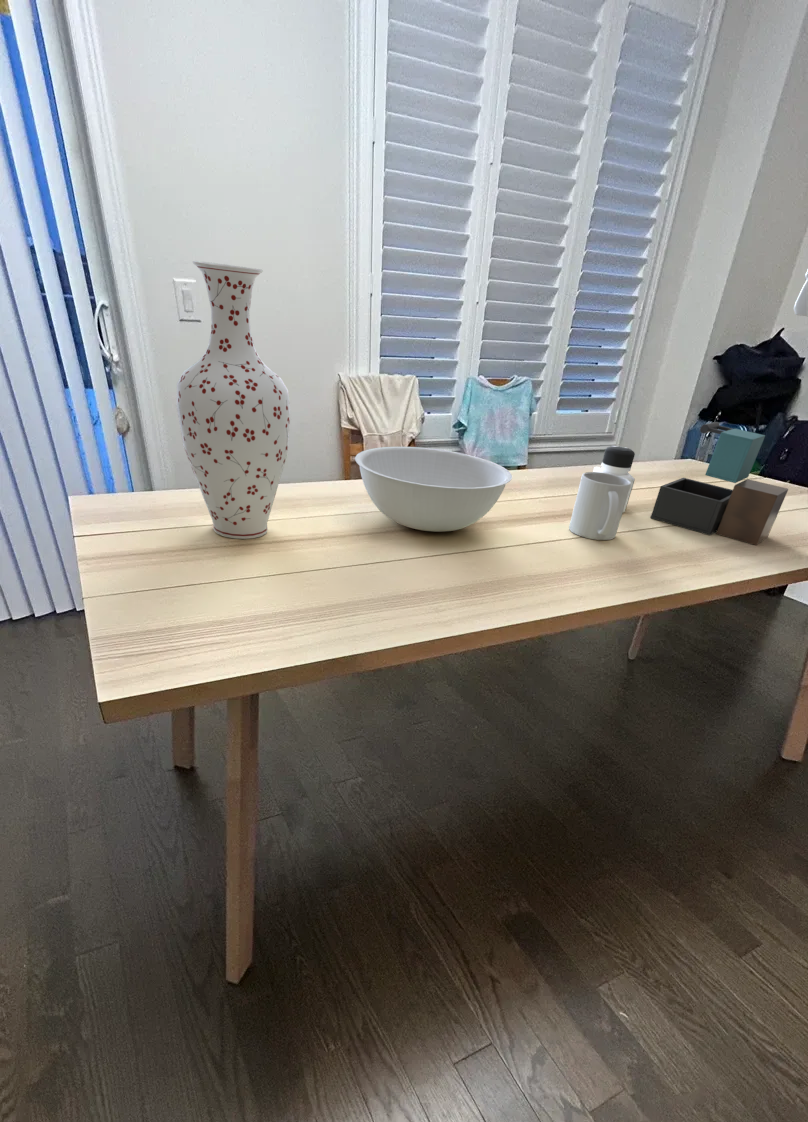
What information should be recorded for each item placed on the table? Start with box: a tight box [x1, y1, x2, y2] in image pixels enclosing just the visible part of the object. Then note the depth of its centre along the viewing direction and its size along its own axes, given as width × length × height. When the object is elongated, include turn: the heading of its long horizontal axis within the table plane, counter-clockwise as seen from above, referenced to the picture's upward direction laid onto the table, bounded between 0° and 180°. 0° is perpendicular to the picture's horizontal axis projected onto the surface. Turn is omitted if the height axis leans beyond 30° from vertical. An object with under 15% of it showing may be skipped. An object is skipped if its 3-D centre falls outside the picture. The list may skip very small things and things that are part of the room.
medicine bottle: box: [592, 445, 636, 513], centre depth 134 cm, size 7×7×12 cm
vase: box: [176, 260, 291, 540], centre depth 92 cm, size 16×16×35 cm
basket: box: [650, 477, 733, 536], centre depth 133 cm, size 13×14×7 cm
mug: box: [568, 471, 631, 541], centre depth 117 cm, size 11×10×10 cm
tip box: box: [699, 421, 766, 484], centre depth 126 cm, size 9×9×10 cm
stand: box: [715, 478, 789, 546], centre depth 127 cm, size 8×9×10 cm
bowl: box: [354, 446, 513, 533], centre depth 112 cm, size 27×27×10 cm
